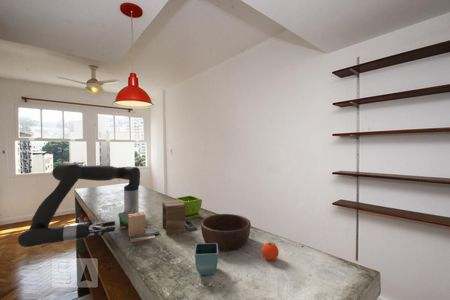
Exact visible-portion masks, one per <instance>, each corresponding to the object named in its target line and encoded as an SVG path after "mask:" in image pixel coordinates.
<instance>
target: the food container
mask: <svg viewBox="0 0 450 300" xmlns="http://www.w3.org/2000/svg"><path fill="white" fill-rule="evenodd" d="M133 213H137V211H136V208H134V207H131V209H130V210H126V211H124V210H123V212H118V220H119V229H120V231H121V230H124V231H125V230H128V214H133Z"/></svg>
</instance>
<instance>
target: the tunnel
mask: <svg viewBox="0 0 450 300" xmlns="http://www.w3.org/2000/svg"><path fill="white" fill-rule="evenodd" d="M161 218H162V220H161V222H162V229H165V234H166V236H168V235H169V236H170V235H174V234H175V235H176V234H179V233H184V232H186V231H185V230H186V228H185V221H186V220H185V204H184V203H183V202H182V201H181V200H180V199H177V200H175V199H170V200H162V217H161Z"/></svg>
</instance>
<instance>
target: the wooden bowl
mask: <svg viewBox="0 0 450 300" xmlns="http://www.w3.org/2000/svg"><path fill="white" fill-rule="evenodd" d="M251 226H252V225H251V220H249V219H248V218H246V217H245V216H243V215H239V214H234V213H233V214H231V213H218V214H212V215H209V216H206V217H205V218H203V219H202V220H201V222H200V230H201V236H202V239H203V241H204V242H205V243H217V244H218V251H220V252H223V251H224V252H231V251H236V250H239V249H241V248H243V247H244V246H245V245H246V243H247V242H248V240H249V237H250V233H251V228H252V227H251Z"/></svg>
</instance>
